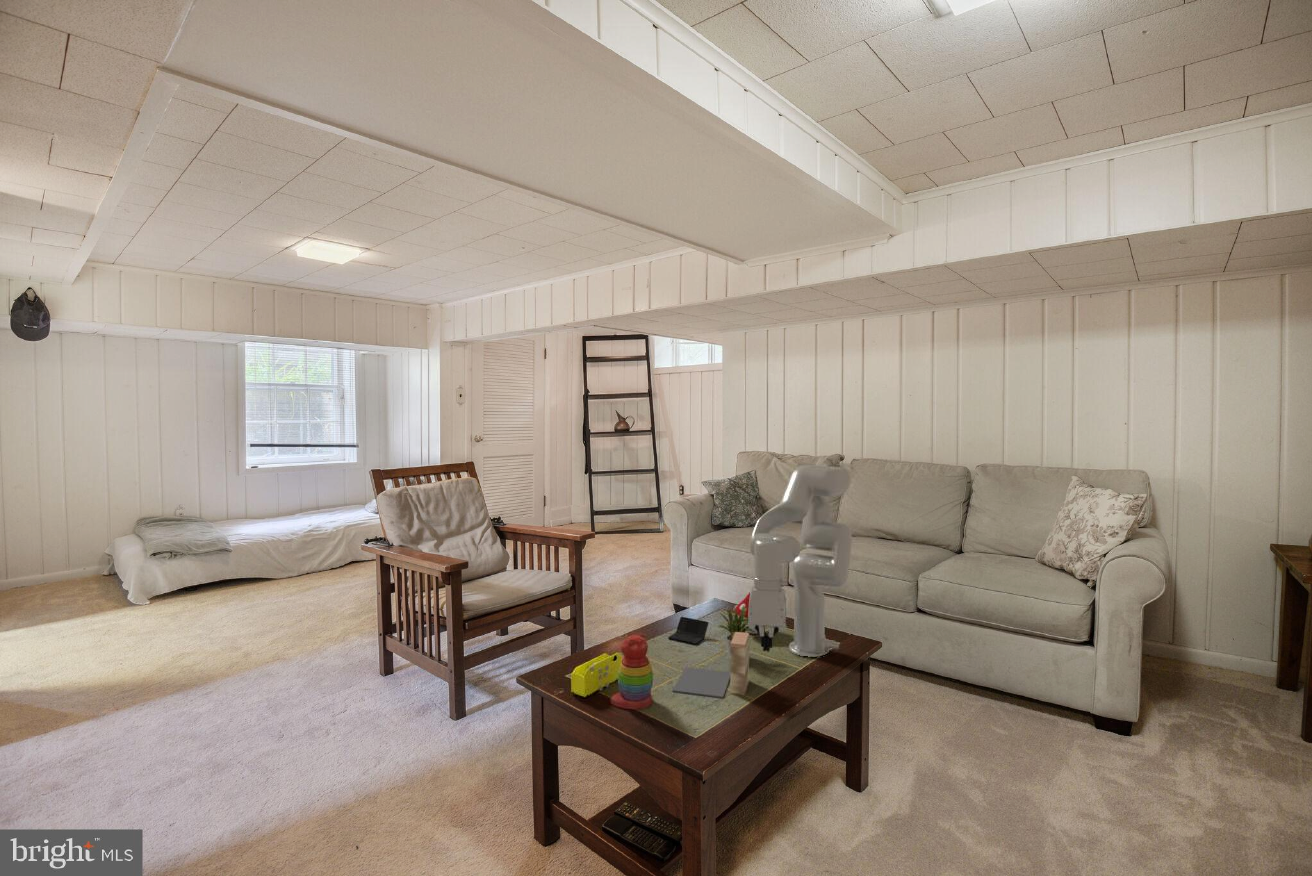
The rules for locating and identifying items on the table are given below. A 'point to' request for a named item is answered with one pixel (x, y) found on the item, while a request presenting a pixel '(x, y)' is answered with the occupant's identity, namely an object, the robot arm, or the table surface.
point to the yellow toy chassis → (595, 674)
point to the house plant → (735, 626)
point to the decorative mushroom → (746, 605)
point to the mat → (702, 682)
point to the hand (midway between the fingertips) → (766, 649)
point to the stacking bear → (634, 675)
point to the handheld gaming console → (690, 631)
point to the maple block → (739, 663)
